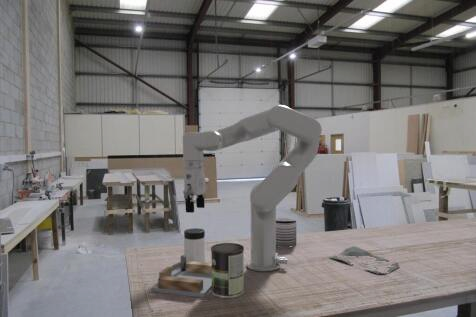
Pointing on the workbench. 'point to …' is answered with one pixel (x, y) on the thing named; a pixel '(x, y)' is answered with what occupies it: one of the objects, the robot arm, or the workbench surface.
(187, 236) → the jar
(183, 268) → the pivot pin
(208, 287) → the jig board
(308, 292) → the workbench surface
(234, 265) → the coffee can
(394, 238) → the workbench surface
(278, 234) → the can
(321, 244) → the workbench surface
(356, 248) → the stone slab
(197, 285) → the fixed rail
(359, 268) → the workbench surface
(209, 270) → the oak leg
